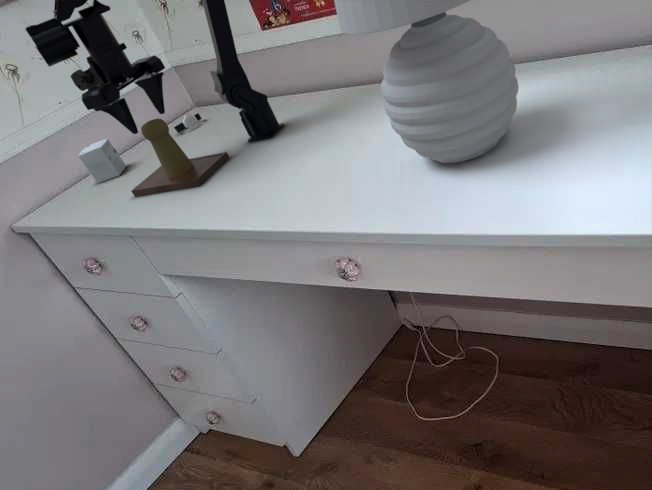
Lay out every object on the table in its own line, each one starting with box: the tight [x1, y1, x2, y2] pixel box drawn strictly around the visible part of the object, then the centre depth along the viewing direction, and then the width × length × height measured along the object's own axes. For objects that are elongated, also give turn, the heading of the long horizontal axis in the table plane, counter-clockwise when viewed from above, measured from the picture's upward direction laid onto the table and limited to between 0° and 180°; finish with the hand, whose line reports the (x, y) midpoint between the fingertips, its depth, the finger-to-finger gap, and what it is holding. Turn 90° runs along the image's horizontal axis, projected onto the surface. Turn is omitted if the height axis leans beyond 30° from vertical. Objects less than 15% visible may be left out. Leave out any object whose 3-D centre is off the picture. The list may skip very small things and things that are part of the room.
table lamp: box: [333, 0, 520, 164], centre depth 95 cm, size 25×25×40 cm
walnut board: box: [131, 151, 231, 198], centre depth 139 cm, size 18×12×2 cm, turn 74°
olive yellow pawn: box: [140, 118, 193, 178], centre depth 135 cm, size 6×6×11 cm
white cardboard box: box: [77, 138, 127, 184], centre depth 154 cm, size 6×6×7 cm
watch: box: [173, 112, 203, 134], centre depth 167 cm, size 8×5×4 cm, turn 143°
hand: (149, 123), depth 132 cm, fingers open, 9 cm apart
